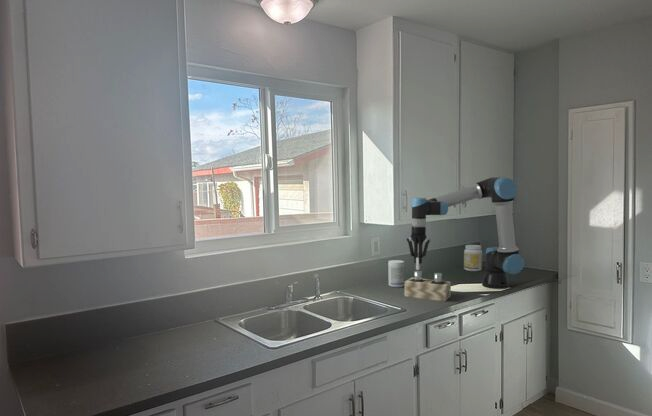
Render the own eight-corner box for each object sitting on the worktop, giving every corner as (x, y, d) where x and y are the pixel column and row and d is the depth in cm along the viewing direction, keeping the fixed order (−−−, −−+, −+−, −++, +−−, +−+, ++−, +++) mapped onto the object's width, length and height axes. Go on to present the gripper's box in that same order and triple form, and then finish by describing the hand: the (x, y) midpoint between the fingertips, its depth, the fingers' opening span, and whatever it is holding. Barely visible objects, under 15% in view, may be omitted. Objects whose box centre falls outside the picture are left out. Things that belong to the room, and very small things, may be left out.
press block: (450, 296, 252) (450, 281, 251) (445, 301, 241) (445, 285, 240) (411, 291, 262) (411, 277, 261) (404, 296, 251) (404, 281, 251)
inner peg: (442, 286, 249) (442, 273, 249) (440, 288, 246) (440, 274, 245) (435, 285, 251) (435, 272, 251) (433, 287, 248) (433, 273, 247)
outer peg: (422, 284, 254) (422, 271, 254) (420, 285, 251) (420, 272, 250) (415, 283, 256) (415, 270, 256) (413, 284, 253) (413, 271, 252)
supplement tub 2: (470, 267, 332) (471, 244, 331) (485, 270, 322) (486, 246, 321) (459, 269, 325) (460, 245, 324) (474, 272, 315) (475, 247, 314)
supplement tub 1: (407, 286, 274) (408, 261, 273) (395, 288, 269) (396, 263, 268) (396, 283, 282) (397, 259, 281) (384, 285, 277) (385, 260, 276)
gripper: (404, 226, 251) (404, 269, 253) (428, 227, 245) (427, 271, 247) (409, 225, 258) (408, 267, 259) (432, 226, 252) (431, 269, 253)
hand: (417, 269), depth 253 cm, fingers closed
